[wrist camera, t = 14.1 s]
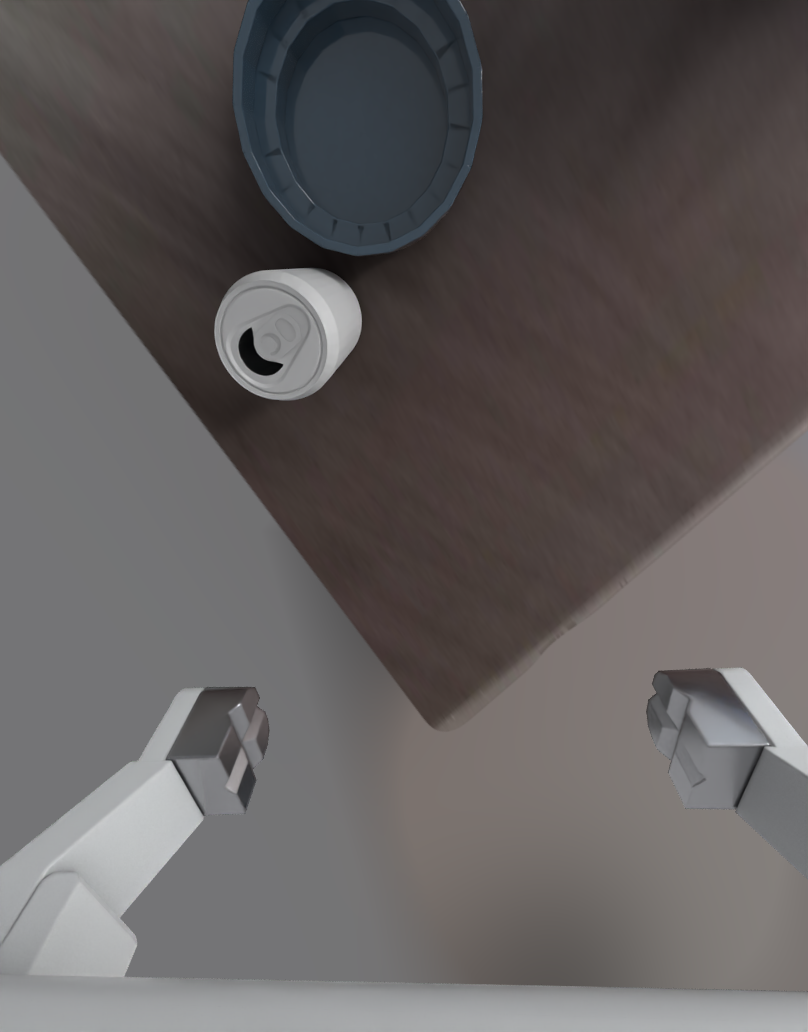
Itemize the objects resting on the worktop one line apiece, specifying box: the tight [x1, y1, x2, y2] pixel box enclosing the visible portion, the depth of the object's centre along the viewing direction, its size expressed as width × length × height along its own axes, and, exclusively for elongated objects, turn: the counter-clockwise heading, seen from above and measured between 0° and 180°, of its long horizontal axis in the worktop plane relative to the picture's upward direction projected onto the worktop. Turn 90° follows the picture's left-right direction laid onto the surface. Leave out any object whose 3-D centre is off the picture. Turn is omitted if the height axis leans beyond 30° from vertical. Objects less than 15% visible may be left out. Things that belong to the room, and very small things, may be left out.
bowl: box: [233, 0, 483, 256], centre depth 26 cm, size 13×13×4 cm
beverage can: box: [214, 268, 362, 400], centre depth 28 cm, size 6×6×12 cm
